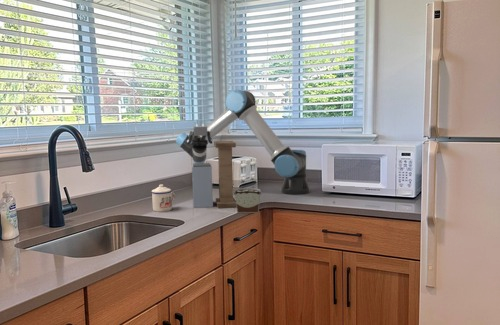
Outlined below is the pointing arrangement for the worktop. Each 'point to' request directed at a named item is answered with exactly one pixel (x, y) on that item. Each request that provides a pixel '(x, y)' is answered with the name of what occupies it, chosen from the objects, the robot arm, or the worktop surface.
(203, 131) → the handle
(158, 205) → the teacup with lid
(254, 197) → the food container
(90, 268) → the worktop surface
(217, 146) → the stand
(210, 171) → the blue-grey tall block
